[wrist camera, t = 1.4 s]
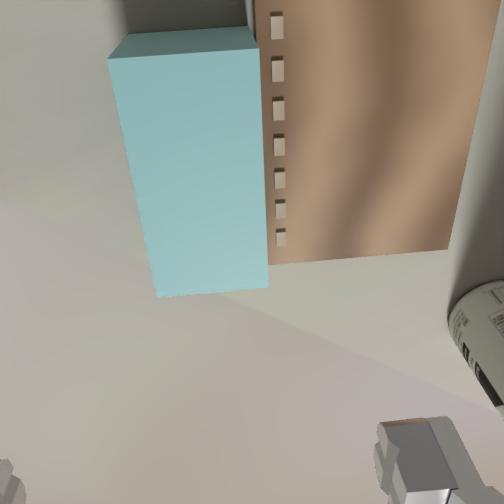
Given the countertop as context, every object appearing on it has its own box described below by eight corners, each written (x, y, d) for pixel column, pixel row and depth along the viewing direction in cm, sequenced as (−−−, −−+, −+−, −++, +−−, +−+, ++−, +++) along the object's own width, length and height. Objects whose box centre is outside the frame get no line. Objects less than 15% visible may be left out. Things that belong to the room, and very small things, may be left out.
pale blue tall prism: (165, 238, 30) (156, 297, 25) (128, 34, 23) (106, 59, 18) (258, 230, 30) (268, 287, 25) (248, 25, 24) (259, 48, 19)
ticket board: (264, 254, 32) (266, 267, 30) (252, -21, 23) (254, -19, 22) (440, 239, 32) (449, 250, 31) (495, -37, 23) (510, -36, 22)
